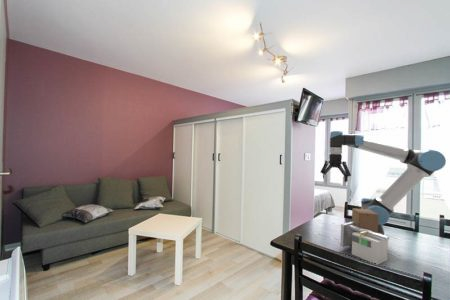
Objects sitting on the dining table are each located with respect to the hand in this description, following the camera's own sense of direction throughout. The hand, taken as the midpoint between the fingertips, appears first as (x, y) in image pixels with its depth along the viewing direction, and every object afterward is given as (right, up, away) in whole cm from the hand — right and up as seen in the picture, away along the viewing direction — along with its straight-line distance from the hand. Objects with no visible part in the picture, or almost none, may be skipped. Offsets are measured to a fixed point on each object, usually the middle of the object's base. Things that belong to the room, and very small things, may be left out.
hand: (334, 185), depth 142 cm
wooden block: (+7, -32, -20) cm, 38 cm away
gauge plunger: (-1, -29, -33) cm, 44 cm away
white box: (0, -31, -34) cm, 46 cm away
